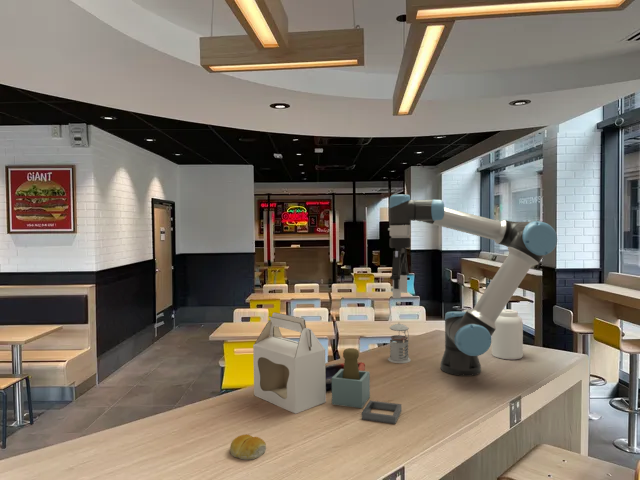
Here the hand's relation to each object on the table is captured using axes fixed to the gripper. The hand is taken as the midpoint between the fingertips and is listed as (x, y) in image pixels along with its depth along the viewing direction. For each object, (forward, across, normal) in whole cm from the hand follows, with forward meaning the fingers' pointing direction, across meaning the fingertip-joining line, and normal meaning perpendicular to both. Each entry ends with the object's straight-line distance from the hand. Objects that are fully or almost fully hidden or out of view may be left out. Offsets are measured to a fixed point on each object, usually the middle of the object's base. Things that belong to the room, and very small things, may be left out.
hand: (400, 295), depth 166 cm
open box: (+32, +24, -12) cm, 42 cm away
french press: (+32, -27, -5) cm, 42 cm away
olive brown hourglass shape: (+26, +24, -12) cm, 37 cm away
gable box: (+32, +29, -32) cm, 54 cm away
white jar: (+32, -46, +38) cm, 68 cm away
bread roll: (+32, +65, -27) cm, 77 cm away
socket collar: (+32, +32, 0) cm, 45 cm away
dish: (+32, +9, -23) cm, 41 cm away
